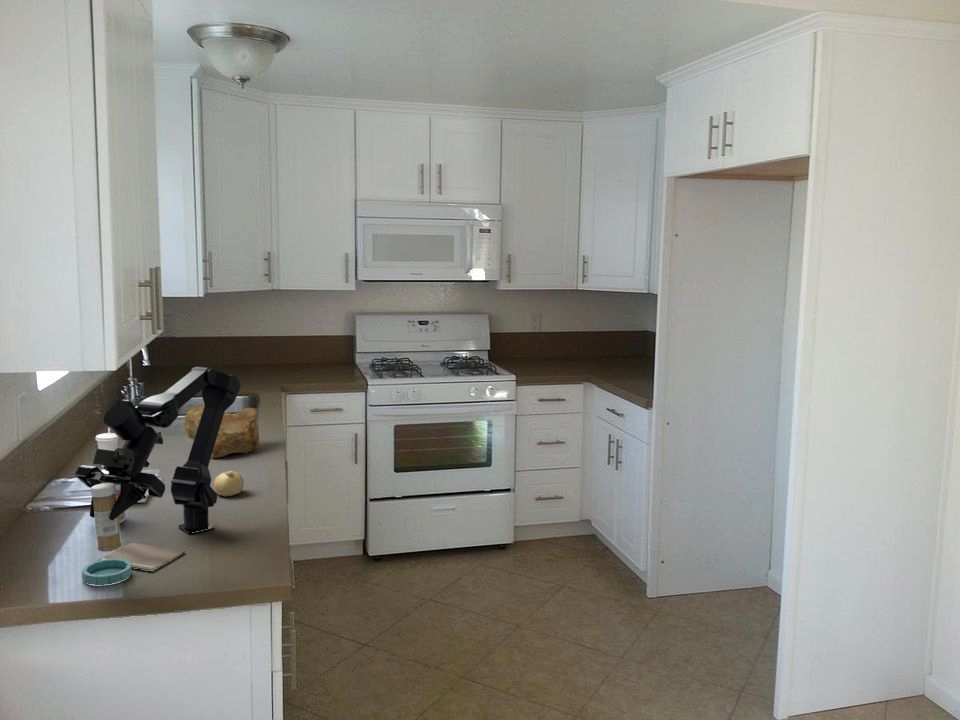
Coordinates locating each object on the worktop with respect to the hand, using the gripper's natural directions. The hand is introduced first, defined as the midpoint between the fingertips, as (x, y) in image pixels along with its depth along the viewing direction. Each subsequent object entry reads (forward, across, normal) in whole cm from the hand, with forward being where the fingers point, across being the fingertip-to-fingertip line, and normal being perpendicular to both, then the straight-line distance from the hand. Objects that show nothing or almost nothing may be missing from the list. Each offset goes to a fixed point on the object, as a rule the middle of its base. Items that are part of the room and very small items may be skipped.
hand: (100, 518), depth 166 cm
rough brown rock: (-53, -32, +74) cm, 96 cm away
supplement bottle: (-10, -22, +29) cm, 38 cm away
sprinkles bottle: (+4, +1, +6) cm, 7 cm away
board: (+1, 0, +18) cm, 18 cm away
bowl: (+8, 0, +10) cm, 13 cm away
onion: (-30, -7, +50) cm, 58 cm away
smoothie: (-36, -54, +56) cm, 86 cm away
